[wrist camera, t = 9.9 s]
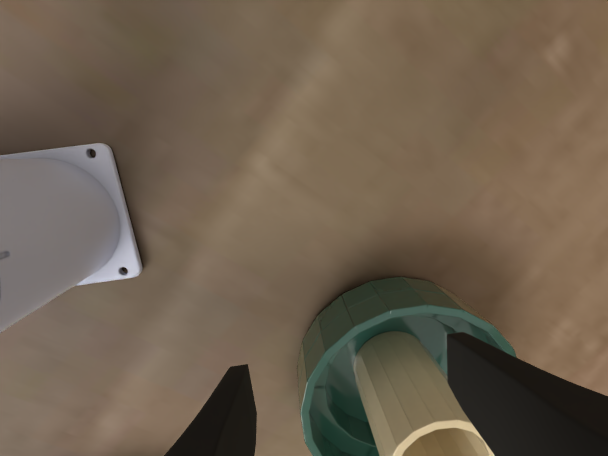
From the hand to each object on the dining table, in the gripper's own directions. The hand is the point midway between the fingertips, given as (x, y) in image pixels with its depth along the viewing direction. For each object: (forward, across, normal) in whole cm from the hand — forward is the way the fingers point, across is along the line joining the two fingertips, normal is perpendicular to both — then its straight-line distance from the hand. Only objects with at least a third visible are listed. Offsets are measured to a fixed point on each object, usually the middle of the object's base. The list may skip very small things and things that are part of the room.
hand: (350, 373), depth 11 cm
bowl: (+10, -4, +7) cm, 13 cm away
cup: (+9, -4, +7) cm, 13 cm away
